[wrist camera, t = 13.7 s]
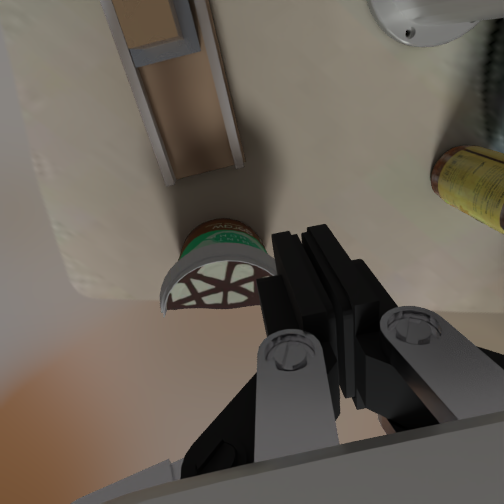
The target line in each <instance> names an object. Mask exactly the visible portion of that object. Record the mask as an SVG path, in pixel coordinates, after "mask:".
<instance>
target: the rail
mask: <svg viewBox="0 0 504 504" xmlns="http://www.w3.org/2000/svg"><path fill="white" fill-rule="evenodd" d="M188 1H189V5H190V8H191V12H192V16H193V20H194V24H195V28H196V32H197V36H198V40H199V44H200V48H201V51H200V52H196V53H192V54H188V55H185V56H181V57H177V58H173V59H169V60H165V61H161V62H157V63H153V64H150V65H146V66H142V67H137V68H136V67H135V64H134V61H133V58H132V55H131V52H130V50H129V49H128V46H127V43H126V40H125V37H124V34H123V31H122V28H121V25H120V23H119V20H118V17H117V14H116V11H115V8H114V5H113V2H112V0H100V3H101V5H102V8H103V11H104V14H105V16H106V19H107V22H108V25H109V28H110V30H111V33H112V36H113V39H114V42H115V44H116V47H117V50H118V53H119V56H120V58H121V61H122V64H123V67H124V70H125V72H126V75H127V78H128V81H129V84H130V86H131V89H132V92H133V95H134V98H135V100H136V103H137V106H138V109H139V112H140V114H141V117H142V120H143V123H144V126H145V128H146V131H147V134H148V137H149V140H150V142H151V145H152V148H153V151H154V154H155V156H156V159H157V162H158V165H159V168H160V170H161V173H162V176H163V179H164V182H165V184H166V187H167V186H171V185H175V181H176V179H180V178H184V177H188V176H192V175H196V174H200V173H204V172H208V171H212V170H216V169H220V168H224V167H228V166H232V165H235V168H236V169H238V168H242V167H244V162H246V160H245V156H244V151H243V147H242V143H241V138H240V134H239V130H238V126H237V121H236V117H235V113H234V108H233V104H232V100H231V95H230V91H229V87H228V83H227V78H226V74H225V70H224V65H223V61H222V57H221V52H220V48H219V44H218V40H217V35H216V31H215V27H214V22H213V18H212V14H211V9H210V5H209V1H208V0H188Z"/></svg>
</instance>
